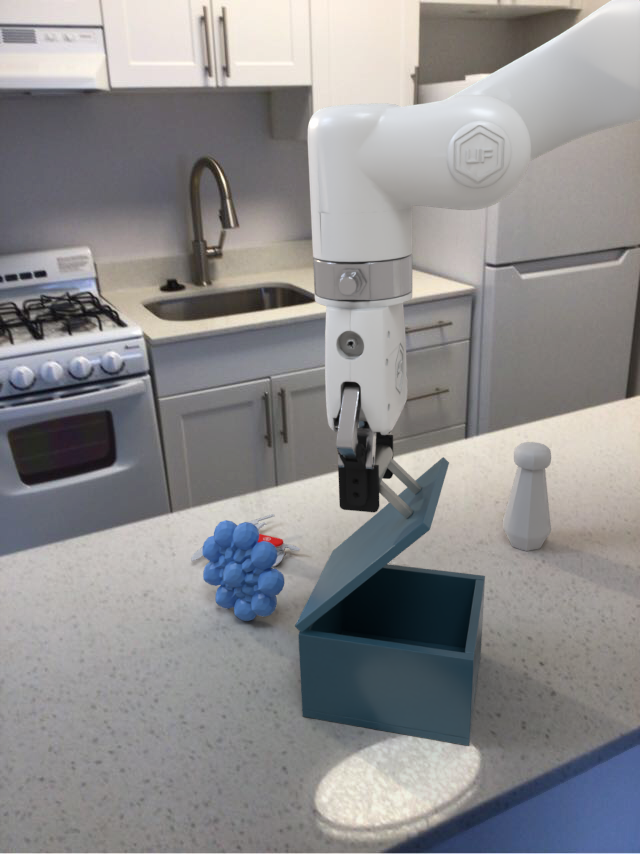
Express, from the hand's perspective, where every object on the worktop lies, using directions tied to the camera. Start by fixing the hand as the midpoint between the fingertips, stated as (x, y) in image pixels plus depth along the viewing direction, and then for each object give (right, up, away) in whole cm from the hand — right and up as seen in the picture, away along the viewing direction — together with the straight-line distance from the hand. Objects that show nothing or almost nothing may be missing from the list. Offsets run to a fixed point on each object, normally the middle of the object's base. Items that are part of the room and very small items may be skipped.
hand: (367, 490), depth 64 cm
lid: (+1, -5, +2) cm, 5 cm away
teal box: (+3, -19, +6) cm, 20 cm away
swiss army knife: (-12, -10, +30) cm, 34 cm away
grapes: (-11, -15, +17) cm, 26 cm away
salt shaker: (+21, -9, +30) cm, 38 cm away
